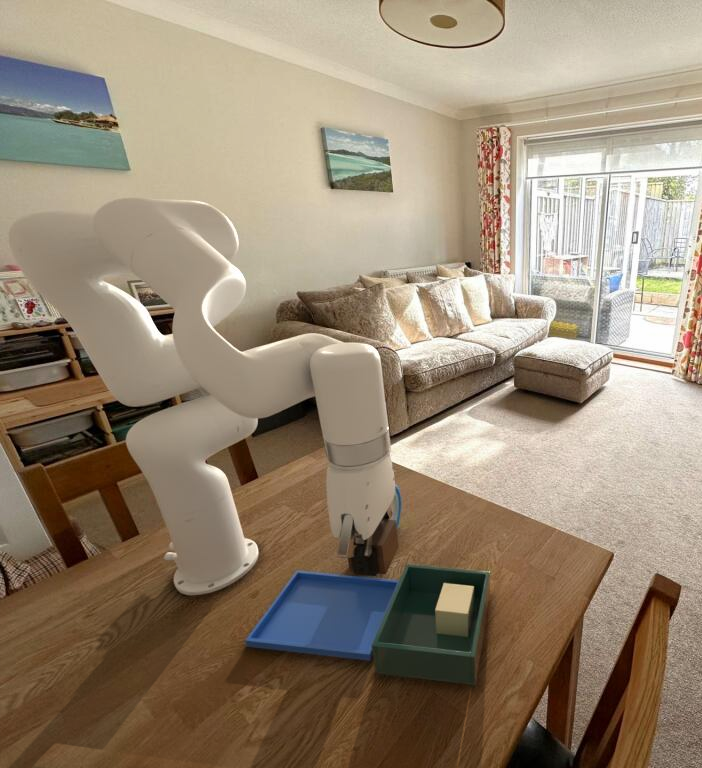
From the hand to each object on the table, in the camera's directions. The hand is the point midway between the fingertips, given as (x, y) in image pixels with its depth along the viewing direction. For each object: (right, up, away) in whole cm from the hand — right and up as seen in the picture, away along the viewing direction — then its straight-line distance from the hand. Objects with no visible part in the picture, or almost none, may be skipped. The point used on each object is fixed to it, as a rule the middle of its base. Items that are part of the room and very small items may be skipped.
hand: (375, 556), depth 56 cm
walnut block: (0, 0, 0) cm, 1 cm away
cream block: (+10, -14, +8) cm, 19 cm away
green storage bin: (+8, -15, +7) cm, 18 cm away
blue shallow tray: (-10, -13, +9) cm, 19 cm away
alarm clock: (-8, -8, +24) cm, 26 cm away
